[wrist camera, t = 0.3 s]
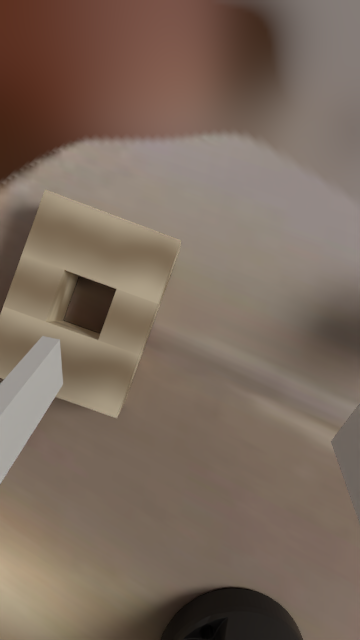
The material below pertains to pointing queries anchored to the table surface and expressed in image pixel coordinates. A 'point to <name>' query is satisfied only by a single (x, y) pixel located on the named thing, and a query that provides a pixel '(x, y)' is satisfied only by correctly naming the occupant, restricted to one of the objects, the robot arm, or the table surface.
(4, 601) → the table surface
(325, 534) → the table surface
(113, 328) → the block
